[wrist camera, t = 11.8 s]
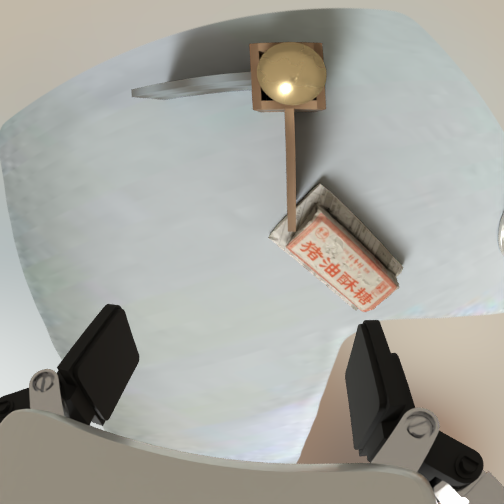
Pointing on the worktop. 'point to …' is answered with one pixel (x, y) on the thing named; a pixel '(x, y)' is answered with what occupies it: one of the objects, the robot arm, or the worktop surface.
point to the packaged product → (339, 250)
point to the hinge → (259, 104)
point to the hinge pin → (291, 73)
